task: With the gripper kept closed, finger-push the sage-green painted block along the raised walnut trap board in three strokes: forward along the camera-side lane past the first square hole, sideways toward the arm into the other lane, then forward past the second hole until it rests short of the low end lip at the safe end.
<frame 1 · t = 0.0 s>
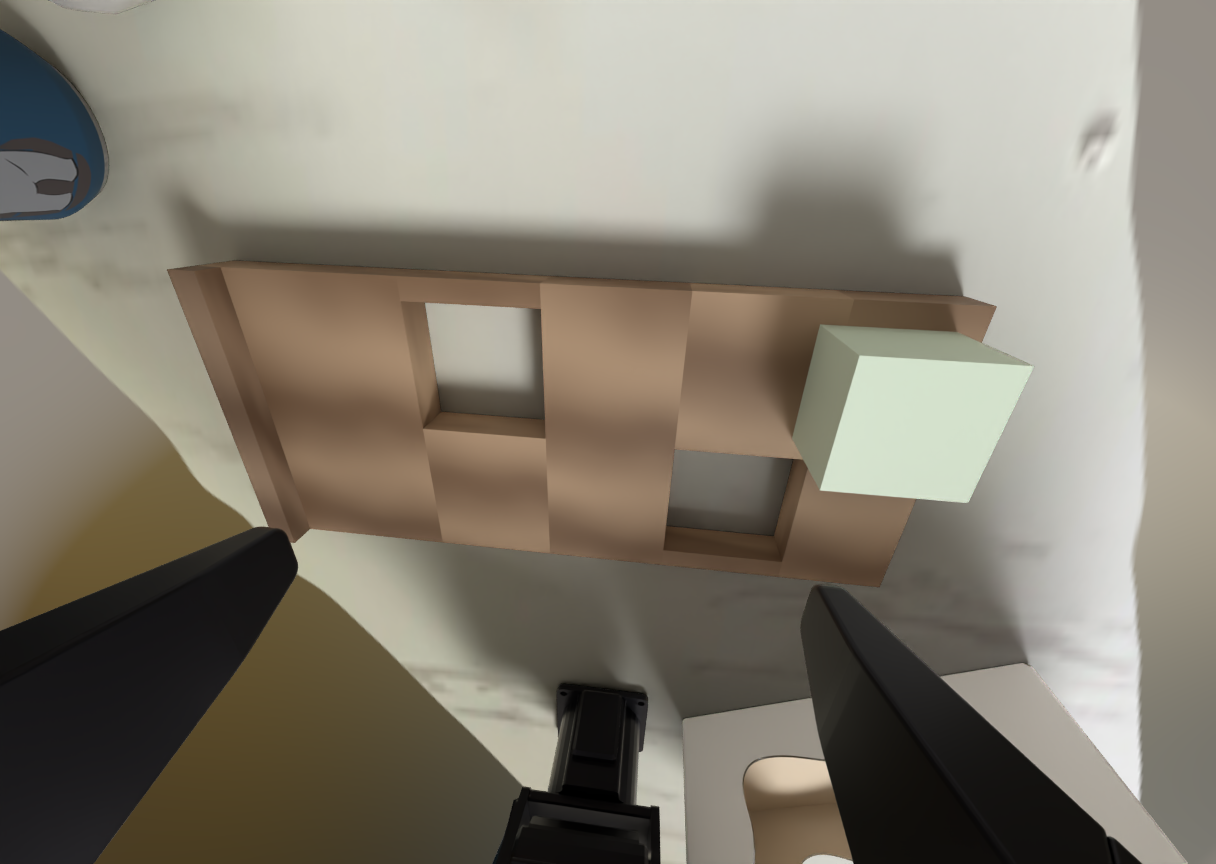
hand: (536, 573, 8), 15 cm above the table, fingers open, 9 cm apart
block: (868, 389, 18), point 2 cm above the table, touching trap board
trap board: (574, 422, 23), on the table
gable box: (857, 744, 32), on the table
soda can: (48, 129, 19), on the table
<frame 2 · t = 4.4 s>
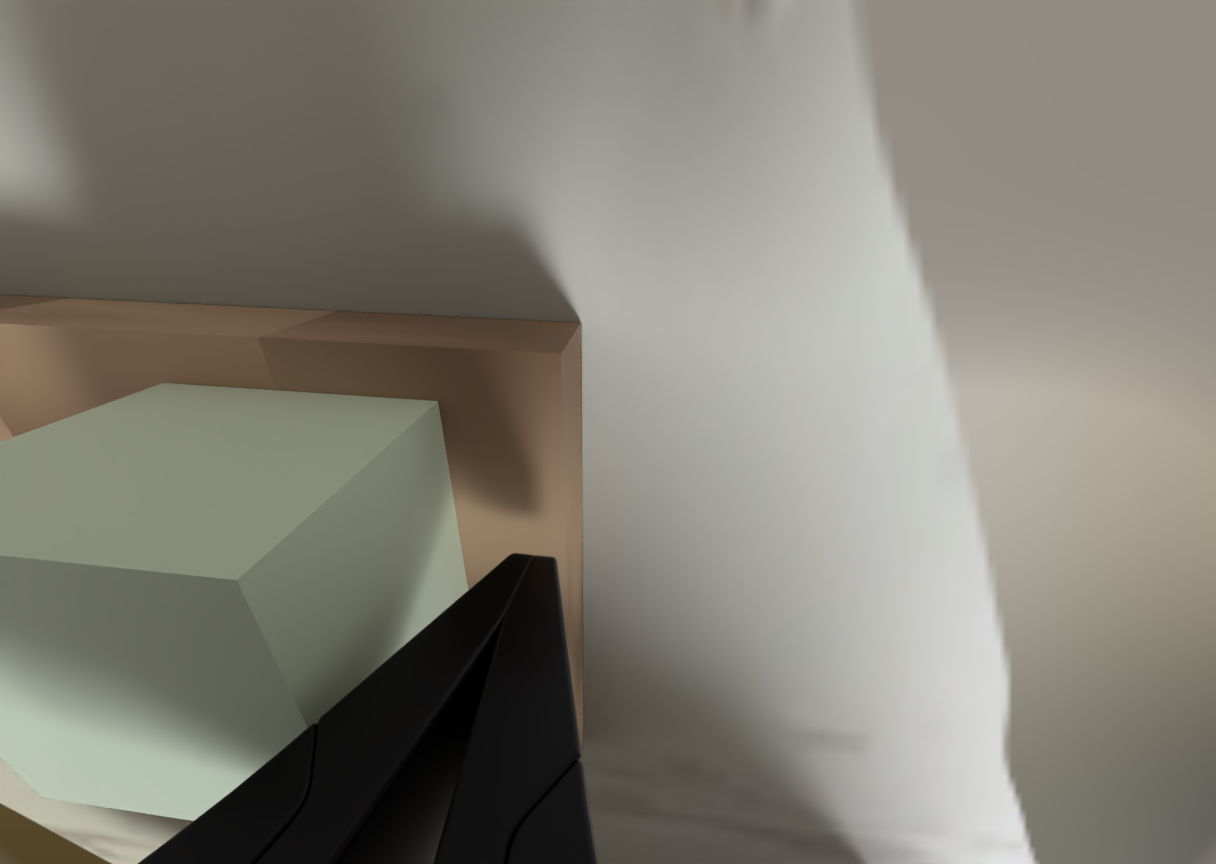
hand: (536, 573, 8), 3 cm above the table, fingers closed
block: (334, 510, 9), point 2 cm above the table, touching gripper
trap board: (42, 535, 13), on the table
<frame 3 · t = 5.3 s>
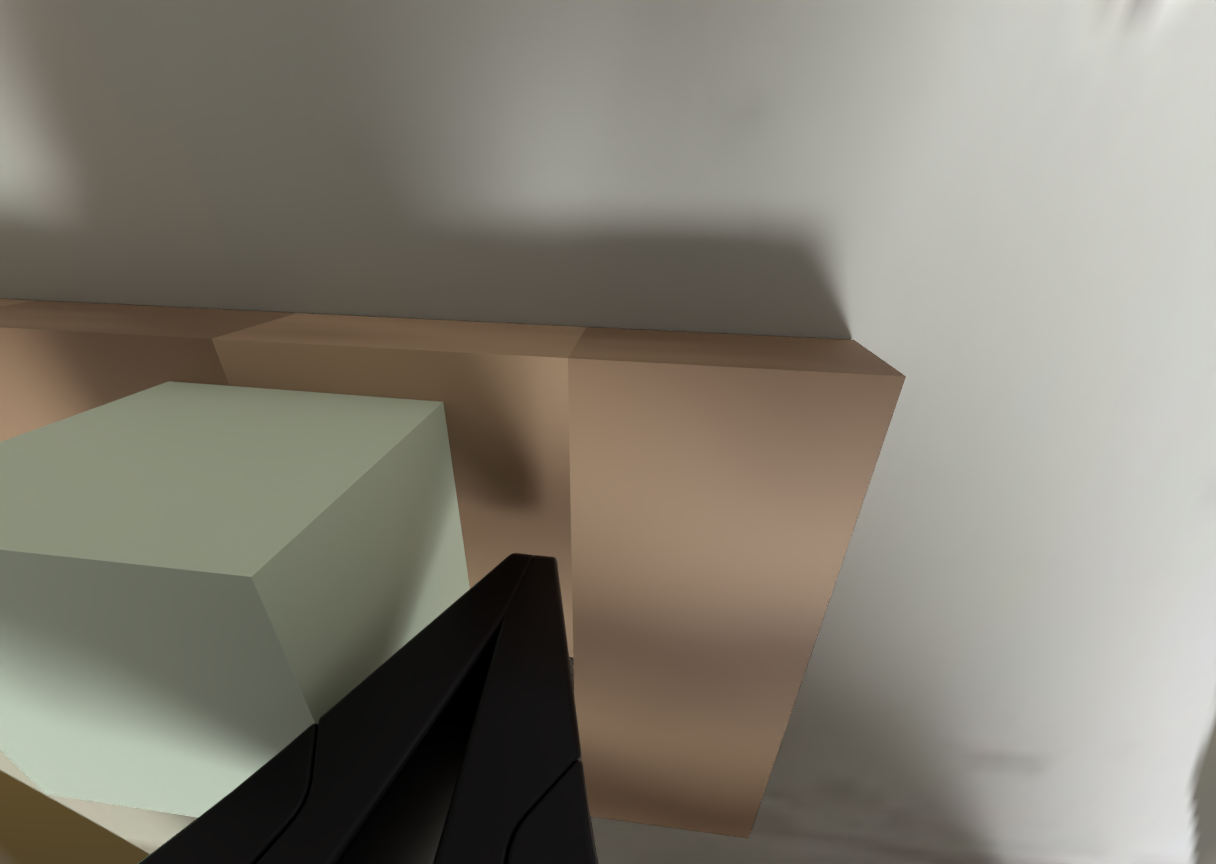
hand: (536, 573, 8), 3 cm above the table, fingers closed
block: (337, 509, 9), point 2 cm above the table, touching gripper
trap board: (204, 553, 13), on the table
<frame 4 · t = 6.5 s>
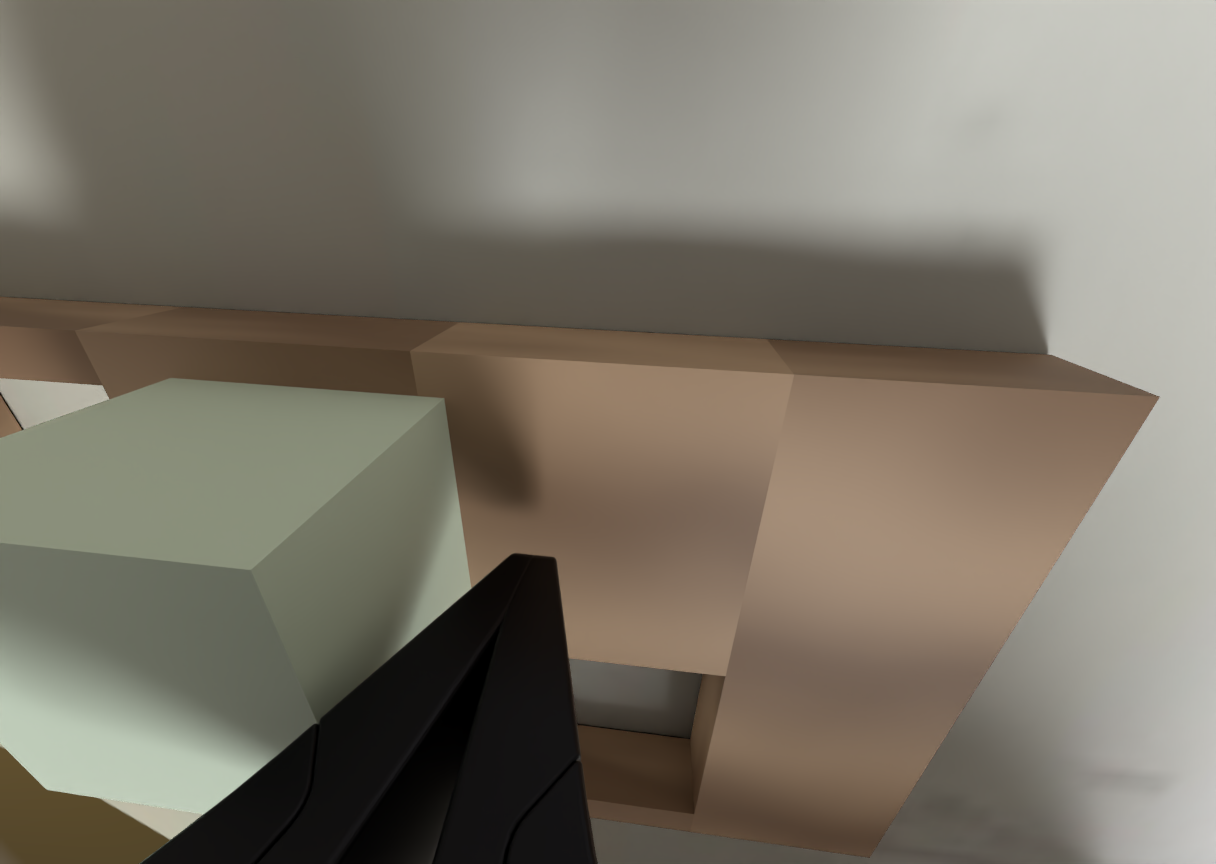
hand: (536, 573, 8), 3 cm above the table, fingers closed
block: (338, 506, 9), point 2 cm above the table, touching gripper, trap board
trap board: (316, 563, 13), on the table
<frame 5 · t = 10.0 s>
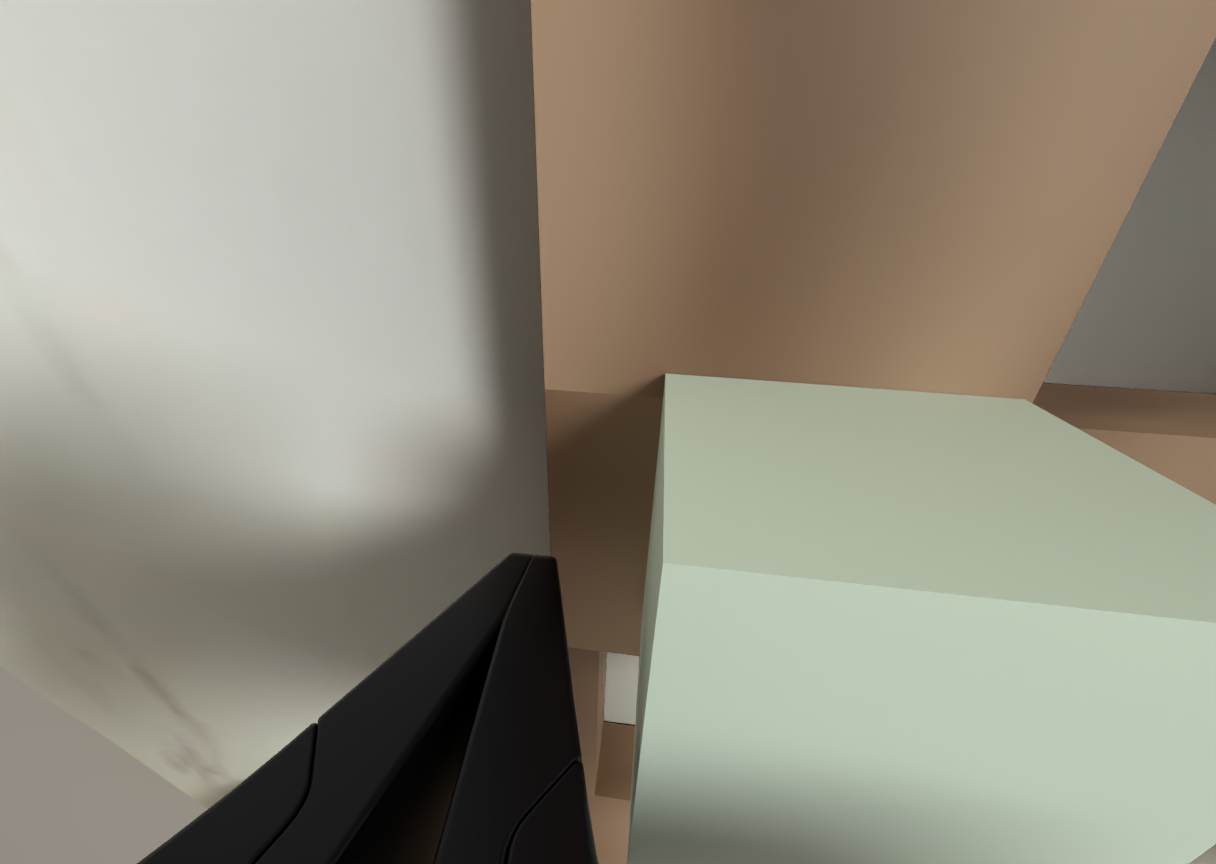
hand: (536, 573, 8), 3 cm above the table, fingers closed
block: (799, 523, 8), point 2 cm above the table, touching gripper
trap board: (866, 578, 11), on the table
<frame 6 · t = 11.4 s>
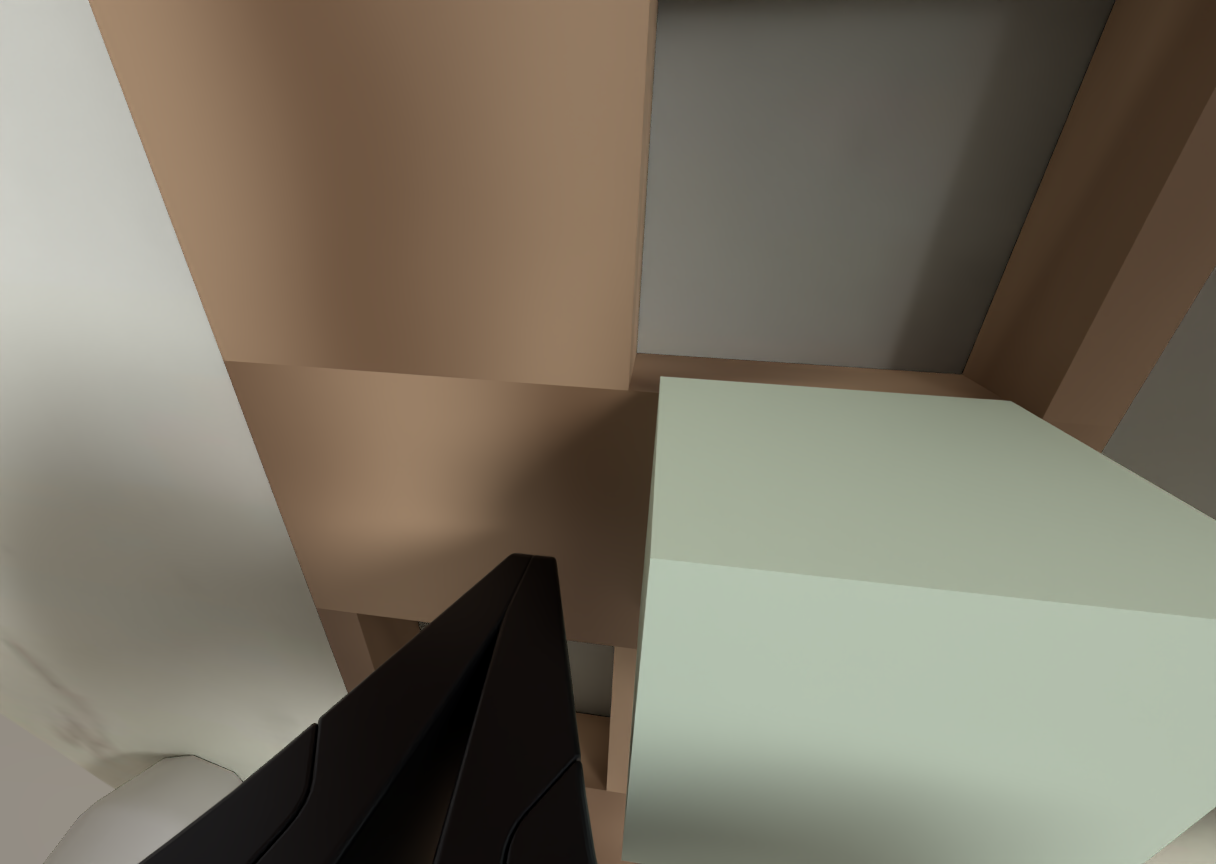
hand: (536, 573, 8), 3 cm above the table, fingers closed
block: (792, 522, 8), point 2 cm above the table, touching gripper, trap board
trap board: (624, 548, 11), on the table
salt shaker: (212, 775, 20), on the table
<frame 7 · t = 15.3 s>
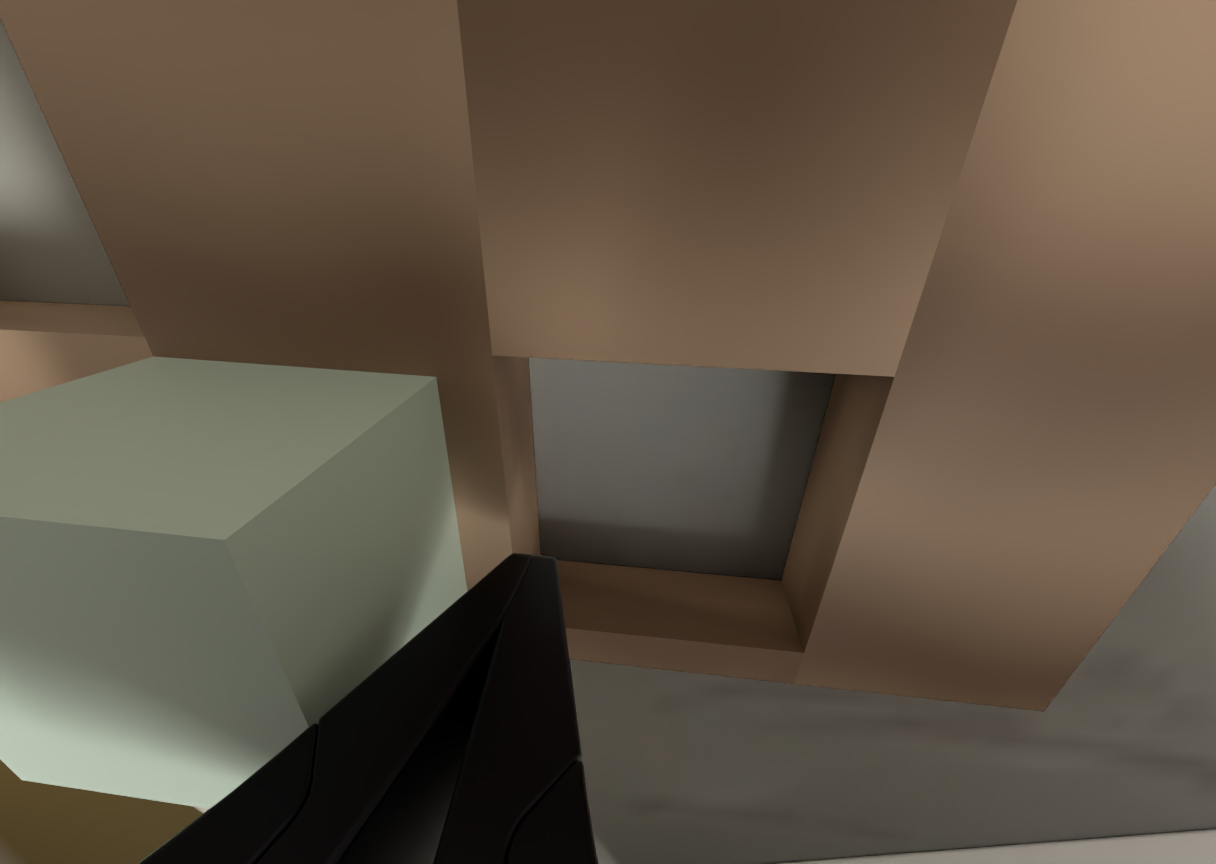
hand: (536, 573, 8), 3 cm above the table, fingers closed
block: (328, 491, 9), point 2 cm above the table, touching gripper
trap board: (287, 313, 9), on the table
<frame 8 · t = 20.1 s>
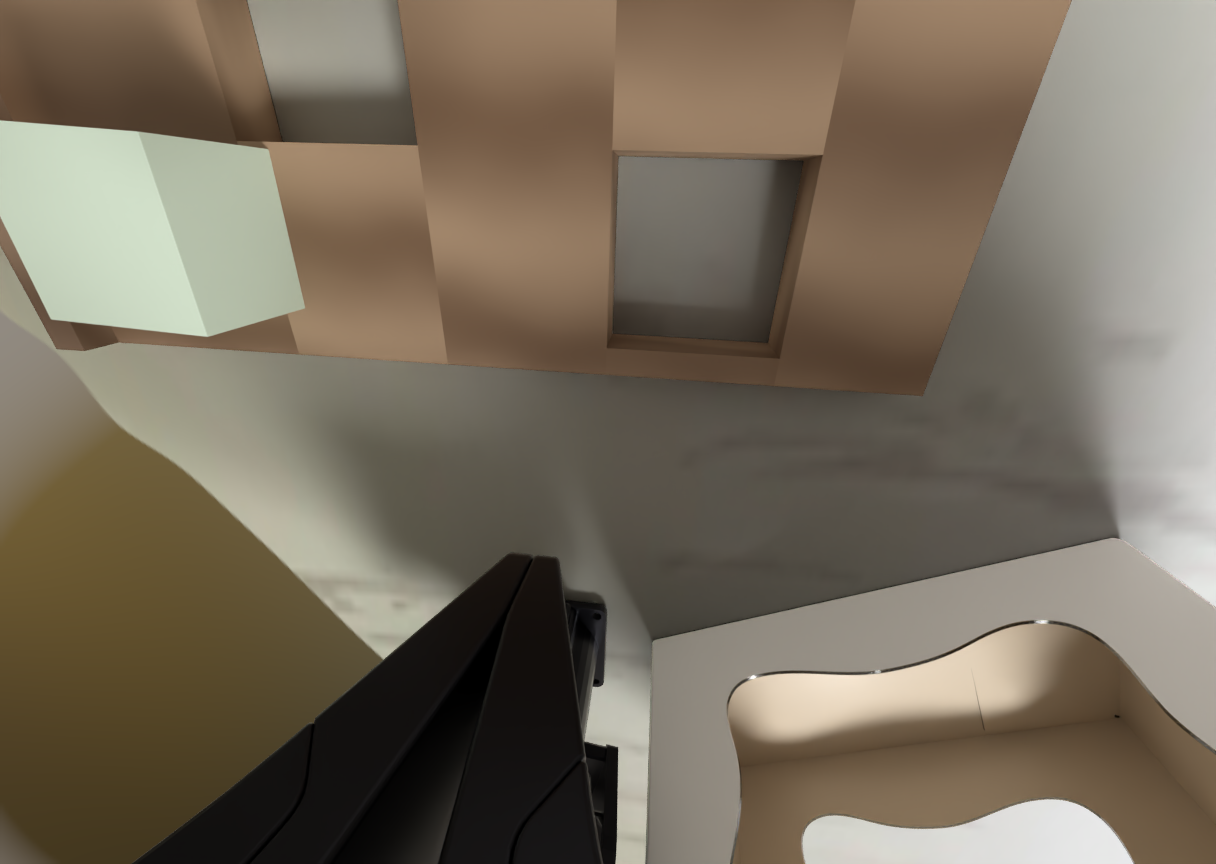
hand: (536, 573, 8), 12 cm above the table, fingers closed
block: (220, 228, 16), point 2 cm above the table, touching trap board
trap board: (473, 152, 15), on the table
gable box: (878, 672, 25), on the table
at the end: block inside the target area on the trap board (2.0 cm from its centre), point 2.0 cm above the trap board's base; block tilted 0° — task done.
